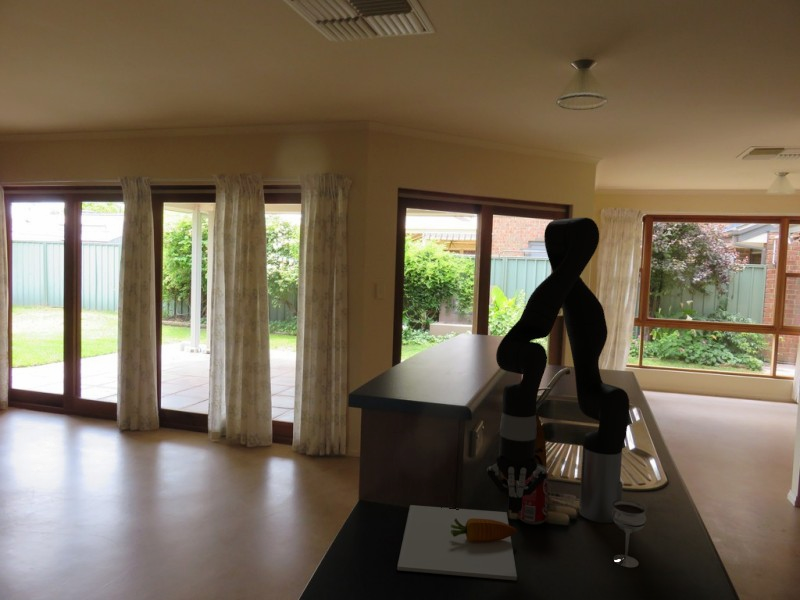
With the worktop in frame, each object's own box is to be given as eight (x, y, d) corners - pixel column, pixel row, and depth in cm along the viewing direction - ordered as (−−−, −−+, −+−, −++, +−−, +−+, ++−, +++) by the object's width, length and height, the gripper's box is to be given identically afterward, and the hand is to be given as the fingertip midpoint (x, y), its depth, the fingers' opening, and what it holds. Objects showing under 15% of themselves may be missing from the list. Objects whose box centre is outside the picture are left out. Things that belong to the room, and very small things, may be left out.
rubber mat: (506, 515, 142) (506, 512, 141) (516, 580, 114) (516, 576, 114) (410, 508, 144) (410, 505, 144) (397, 570, 116) (397, 566, 116)
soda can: (547, 527, 136) (550, 475, 134) (516, 524, 137) (518, 472, 136) (545, 514, 143) (548, 464, 141) (516, 510, 144) (518, 461, 143)
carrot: (512, 529, 131) (447, 528, 130) (515, 514, 129) (449, 513, 128) (516, 547, 127) (450, 547, 126) (520, 532, 125) (452, 531, 124)
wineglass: (604, 551, 126) (607, 499, 124) (635, 552, 125) (639, 500, 124) (615, 569, 119) (618, 513, 118) (648, 570, 119) (652, 515, 118)
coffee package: (521, 495, 153) (525, 415, 151) (495, 478, 164) (498, 403, 162) (551, 490, 157) (555, 412, 155) (523, 473, 168) (527, 400, 166)
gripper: (547, 429, 124) (543, 506, 126) (485, 426, 126) (482, 501, 127) (552, 441, 117) (548, 522, 118) (487, 437, 118) (484, 517, 120)
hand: (514, 511), depth 123 cm, fingers closed
